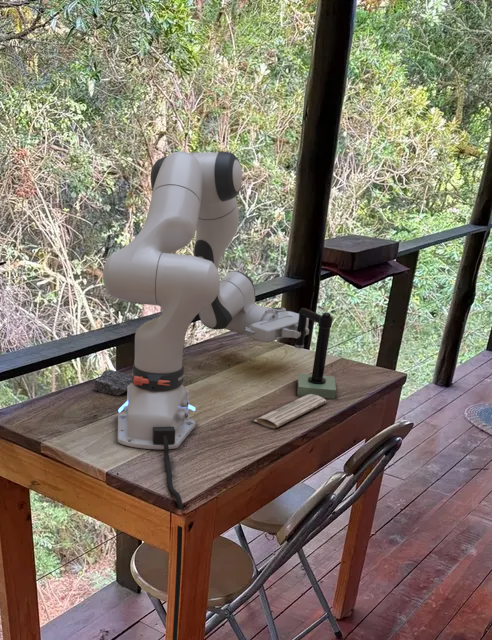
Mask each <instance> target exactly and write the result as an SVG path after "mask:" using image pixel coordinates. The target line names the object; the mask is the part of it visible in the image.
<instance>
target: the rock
mask: <svg viewBox="0 0 492 640" xmlns="http://www.w3.org/2000/svg"><path fill="white" fill-rule="evenodd" d="M131 383H132V376H129V375H128V374H127V373H124V372H121V371H117V370H113V369H109V370H104V371H103V372H102V374H101V375H100V376H99V377H98V378H96V379H95V380H94V390H95V391H97V392H98V393H99V392H100V393H104V394H108V395H113V396H120V395H123V394H124V393H125V392H126V393H127V386H128V385H129V384H131Z"/></svg>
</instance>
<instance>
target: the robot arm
mask: <svg viewBox="0 0 492 640" xmlns="http://www.w3.org/2000/svg"><path fill="white" fill-rule="evenodd" d="M242 183H243V169H242V166H241V162H240V159H239V158H238V157H237V156H236V155H235V153H233V152H231V151H222V150H221V151H218V152H213V151H212V152H211V151H202V152H200V151H199V152H196V151H193V152H187V151H180V150H179V151H174V152H170V153H169V154H168V155H165V156H163V157H160V158H159V159H157V160H156V161H155V162H154V164H153V165H152V167H151V170H150V186H151V190H152V192H151V198H150V202H149V207H148V211H147V214H146V218H145V221H144V224H143V226H142V228H141V229H140V231H139V233H138V234H137V235H136V236H135V237H134V238H133V239H132V240H131V241H130V242H129V243H128V244H126V245H125V246H123V247H122V248H120V249H118V250H116V251H114V252H113V253H111V254H110V255H109V256H108V258H107V259H106V261H105V263H104V266H103V269H102V282H103V285H104V288H105V290H106V292H107V294H108V295H109V296H110V298H114V299H116V300H120V301H123V302H125V303H129V304H138V305H149V306H157V307H161V309H162V310H161V315H160V316H158V317H155V318H153V319H151V320H148V321H146V322H144V323H142V324H141V325H140V326H139V327H138V328H137V330H136V332H135V334H134V362H133V364H132V369H131V377H132V383H131V384H129V385H128V386H127V391H126V401H125V402H124V403H123V404H122V405H121V406H120V407H119V408H118V413H119V414H118V415H117V443H118V444H121V445H123V446H127V447H131V448H138V449H145V450H160V451H161V450H163V455H164V456H163V457H164V465H165V469H166V470H165V471H166V483H167V488H168V491H169V492H170V494H171V495H172V496H173V497H174V498H175V500H176V505H177V509H178V510H180V511H181V510H183V509H184V505H183V500H182V497H181V495H180V493H179V492H178V491H177V490H176V489H175V488H174V485H173V474H172V467H171V463H170V454H169V453H170V451H169V450H174V449H175V450H176V449H178V448H179V447H180V445H182V443H183V442H184V441H185V439H186V438H187V437H188V436H189V435H190V434H191V432H192V431H193V430H194V429H195V427H196V421H195V420H193V419H192V418H190V413H189V412H190V411H189V410H191V411H193V412H195V411H196V407H195V406H193V405H192V404H190V391H189V390H188V389H187V388H186V387H185V385H184V384H183V383H184V377H185V367H184V365H183V357H184V347H185V341H186V340H185V339H186V335H187V331H188V329H189V327H190V326H191V323H192V322H193V320H195V318H196V317H197V316H198V318H199V320H200V322H201V323H202V325H204V326H205V327H206V328H208V329H210V330H216V331H217V330H227V331H229V332H233V333H236V334H245V335H247V336H248V337H250V338H251V339H254V340H257V341H259V342H262V343H271V342H275V341H278V340H281V339H285V338H292V339H295V340H296V339H297V338H299V337H301V332H300V331H298V330H297V327H298V320H299V312H298V313H297V312H294V311H291V310H287V309H286V308H285V307H282V306H281V307H269V306H262V305H258V304H256V289H255V285H254V281H253V280H252V278H251V277H250V276H249V275H247V274H246V273H244V272H242V271H239V270H231V271H230V272H228V273H227V274H226V275H225V276H223V278H222V279H221V277H220V272H219V266H220V262H221V260H222V257H223V255H224V253H225V251H227V248H228V246H229V245H230V243H231V242H232V240H233V239H234V237H235V235H236V233H237V231H238V229H239V225H240V213H239V212H240V211H239V207H238V201H237V195H238V194H239V193H240V192H241V189H242ZM194 237H195V242H194V248H193V255H192V254H180V253H175V252H177V251H179V250H181V249H184V248H185V247H187V246H188V245H189V244H190V243H191V242H192V240H193V238H194ZM309 321H310V319H309V318H307V321H306V329H305V336H304V337H306V336H308V335H309V334H310V329H309V325H310V324H309ZM122 411H123V413H121V412H122ZM176 530H177V531H176V562H175V563H176V564H175V586H174V587H175V588H174V605H173V606H174V607H173V623H172V640H178V632H179V615H180V600H181V599H180V597H181V579H182V578H181V577H182V558H183V557H182V552H183V527H182V526H180V525H177V529H176Z"/></svg>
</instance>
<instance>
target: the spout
mask: <svg viewBox="0 0 492 640" xmlns="http://www.w3.org/2000/svg"><path fill="white" fill-rule="evenodd" d="M298 314H299V320H298V327H297V330H298V331H300V332H301V337H299V338H297V339H296V338H295V343H294V348H295V349H304V348H305V344H304V343H305V337H306V336H305V329H306V321H307V318H309V320H311V321H312V322H315V323H317V325H318V328H319V327H321V328H330V329H331V328H332V327H333V321H334V320H333V319H334V318H333V316H332V315H331V313H329V312H323V313H322V315H321V314H319V313H317V312H314V311H312V310H310V309H308V308H306V307H301V308H300V310H299V312H298Z"/></svg>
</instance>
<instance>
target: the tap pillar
mask: <svg viewBox="0 0 492 640" xmlns="http://www.w3.org/2000/svg"><path fill="white" fill-rule="evenodd" d="M330 333H331V328H321V327H319V326H318V330H317V339H316V343H315V352H314V359H313V365H312V372H311V374H312V377H309V378H308V382H310V383H313V384H324V383H326V379H324V378H323V375H324V374H325V367H326V360H327V354H328V348H329V347H328V346H329V341H330Z"/></svg>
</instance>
